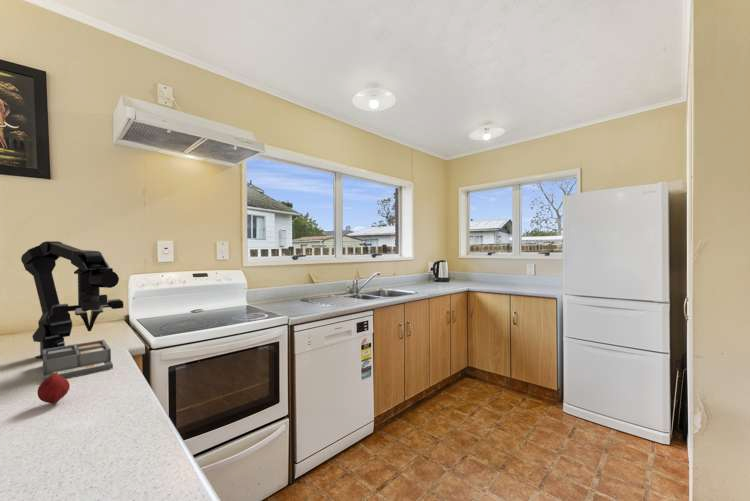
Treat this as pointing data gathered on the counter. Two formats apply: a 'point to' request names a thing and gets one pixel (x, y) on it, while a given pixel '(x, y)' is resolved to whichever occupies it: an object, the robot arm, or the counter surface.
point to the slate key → (60, 350)
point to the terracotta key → (89, 346)
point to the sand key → (91, 350)
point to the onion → (53, 388)
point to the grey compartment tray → (77, 360)
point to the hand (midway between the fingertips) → (89, 331)
